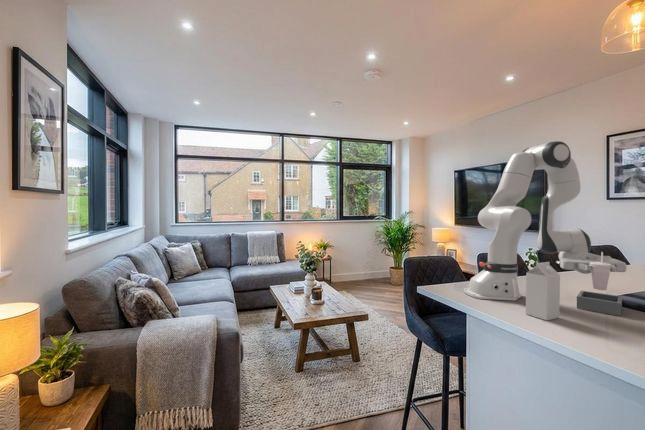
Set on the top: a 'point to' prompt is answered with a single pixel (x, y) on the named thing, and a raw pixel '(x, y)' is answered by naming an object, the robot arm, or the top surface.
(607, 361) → the top surface
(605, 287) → the smoothie
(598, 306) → the bin
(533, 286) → the milk carton
